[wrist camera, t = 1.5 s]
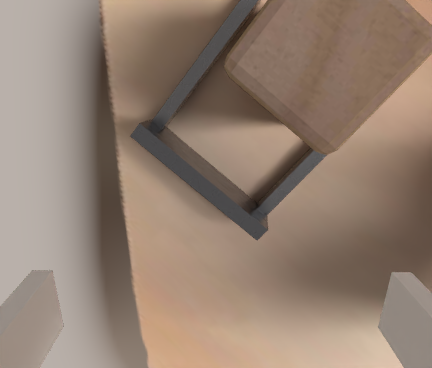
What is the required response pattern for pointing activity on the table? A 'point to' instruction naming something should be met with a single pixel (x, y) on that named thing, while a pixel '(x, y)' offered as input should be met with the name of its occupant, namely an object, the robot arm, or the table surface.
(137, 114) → the table surface
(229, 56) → the wooden block
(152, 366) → the table surface
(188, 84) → the end stop channel
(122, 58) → the table surface
